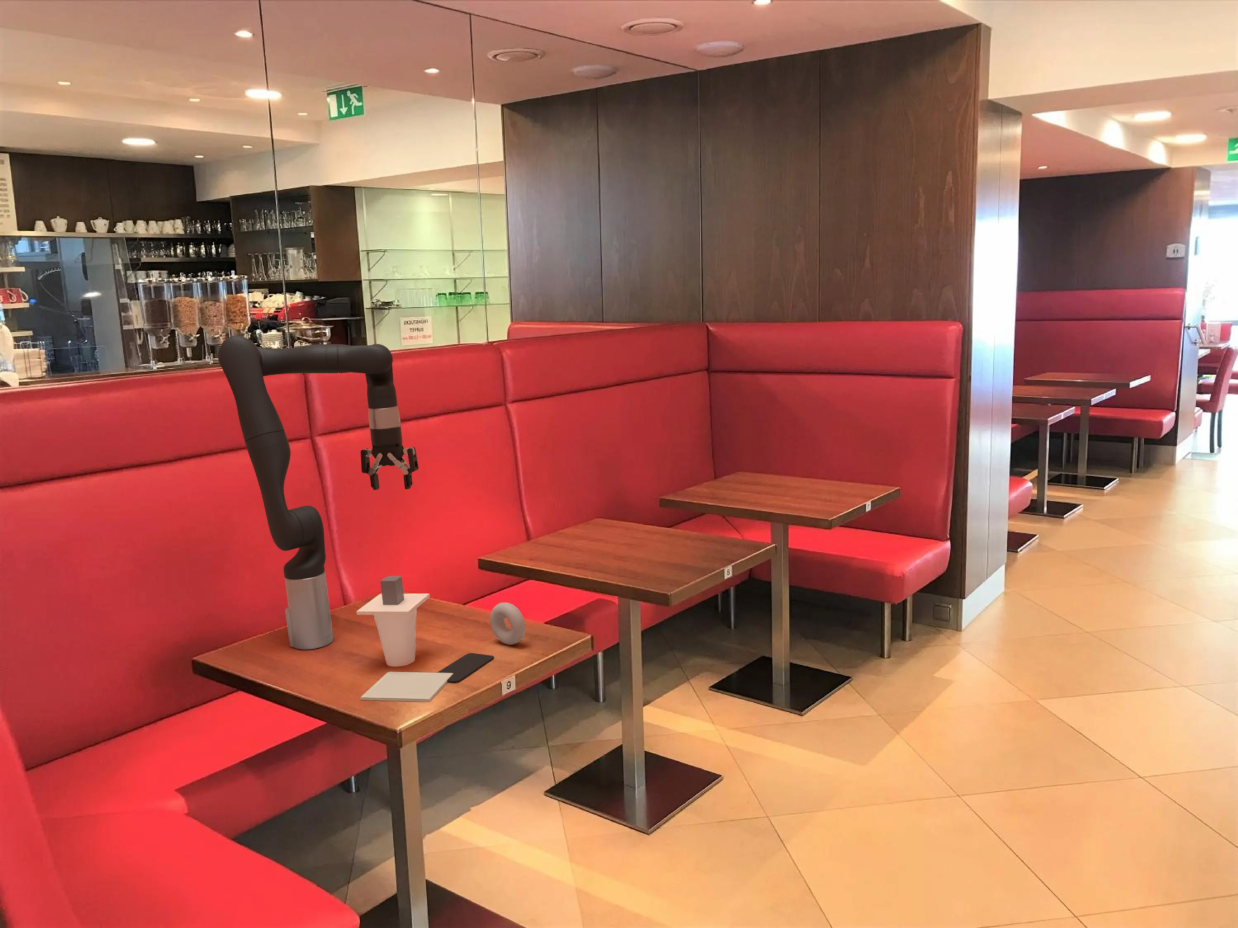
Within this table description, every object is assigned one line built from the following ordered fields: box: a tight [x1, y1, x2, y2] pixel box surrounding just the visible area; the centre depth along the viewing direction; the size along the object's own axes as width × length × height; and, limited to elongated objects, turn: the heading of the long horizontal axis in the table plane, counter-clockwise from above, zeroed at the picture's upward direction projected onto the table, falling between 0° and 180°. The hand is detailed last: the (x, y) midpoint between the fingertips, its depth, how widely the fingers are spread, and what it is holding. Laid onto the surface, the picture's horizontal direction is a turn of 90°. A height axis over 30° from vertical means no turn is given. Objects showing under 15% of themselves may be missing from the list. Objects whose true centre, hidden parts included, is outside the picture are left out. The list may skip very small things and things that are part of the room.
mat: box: [360, 671, 453, 703], centre depth 202 cm, size 15×13×1 cm
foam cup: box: [373, 608, 418, 668], centre depth 216 cm, size 10×9×13 cm
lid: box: [356, 575, 431, 616], centre depth 214 cm, size 12×12×6 cm
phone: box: [436, 652, 495, 684], centre depth 211 cm, size 7×1×15 cm
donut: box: [489, 602, 526, 646], centre depth 222 cm, size 10×4×10 cm, turn 52°
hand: (392, 489), depth 243 cm, fingers open, 8 cm apart
